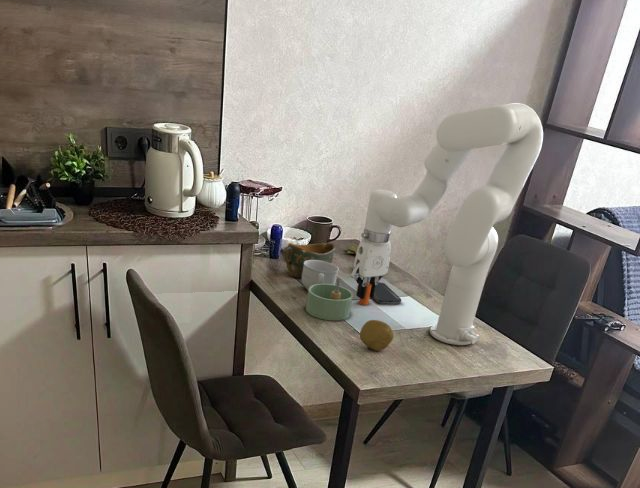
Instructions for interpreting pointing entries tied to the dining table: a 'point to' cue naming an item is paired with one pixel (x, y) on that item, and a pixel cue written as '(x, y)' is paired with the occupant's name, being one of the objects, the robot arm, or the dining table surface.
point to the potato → (376, 334)
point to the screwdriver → (367, 294)
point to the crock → (328, 302)
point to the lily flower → (353, 249)
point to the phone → (385, 295)
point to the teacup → (318, 273)
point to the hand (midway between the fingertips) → (364, 296)
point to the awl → (336, 292)
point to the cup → (306, 255)
